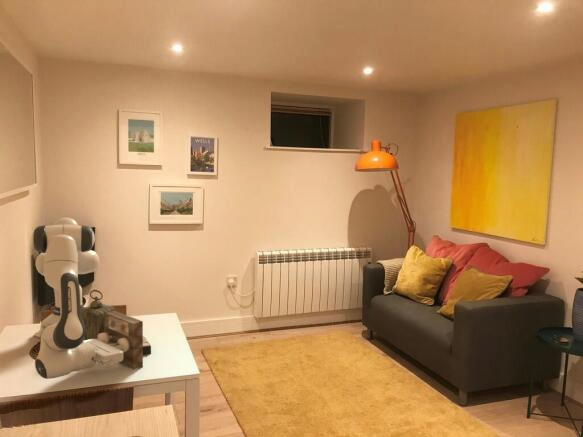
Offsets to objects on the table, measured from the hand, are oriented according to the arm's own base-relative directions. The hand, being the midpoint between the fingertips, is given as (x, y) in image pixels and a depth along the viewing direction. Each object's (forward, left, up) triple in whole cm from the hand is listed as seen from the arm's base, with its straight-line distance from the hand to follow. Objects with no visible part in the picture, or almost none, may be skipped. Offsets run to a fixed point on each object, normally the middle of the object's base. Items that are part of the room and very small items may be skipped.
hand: (120, 345), depth 182 cm
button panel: (-4, +6, -9) cm, 11 cm away
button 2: (+1, +3, -3) cm, 4 cm away
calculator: (-8, +18, -10) cm, 22 cm away
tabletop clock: (-23, +13, -9) cm, 28 cm away
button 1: (-10, +5, -3) cm, 11 cm away
